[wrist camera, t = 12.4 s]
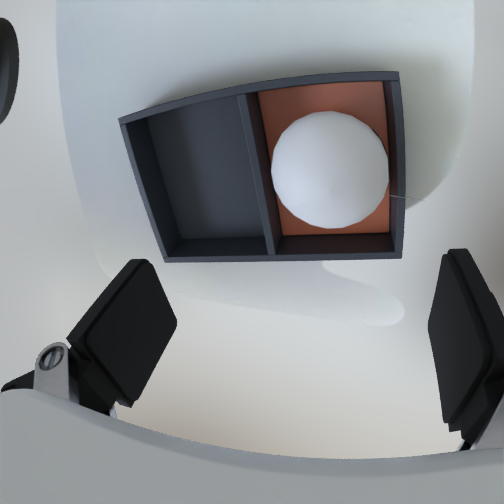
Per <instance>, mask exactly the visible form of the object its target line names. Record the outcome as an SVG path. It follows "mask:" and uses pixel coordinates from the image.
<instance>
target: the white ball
mask: <svg viewBox="0 0 504 504" xmlns="http://www.w3.org/2000/svg"><path fill="white" fill-rule="evenodd" d="M389 172H390V165H389V158H388V153H387V150H386V148H385V145H384V143H383V142H382V140H381V138H380V137H379V135H378V134H377V133H376V132H375V131H374V129H371V128H370V127H369V126H368V125H366V124H365V123H363V122H362V121H360V120H358V119H357V118H355V117H353V116H352V115H348V114H343V113H339V112H335V111H326V112H316V113H311V114H309V115H307V116H304V117H302V118H300V119H298V120H295V121H294V122H293V123H292V124H291V125H290V126H289V127H288V128H287V129H286V130H285V131H284V132H283V133H282V134H281V136H280V138H279V140H278V142H277V144H276V146H275V148H274V153H273V160H272V168H271V174H272V179H273V184H274V189H275V191H276V193H277V194H278V196H279V198H280V200H281V202H282V204H283V205H284V206H285V207H286V208H287V209H288V210H289V211H290V212H291V213H292V214H293V215H294V216H296V217H298V218H300V219H301V220H303V221H305V222H307V223H309V224H311V225H314V226H318V227H322V228H343V227H346V226H349V225H352V224H355V223H358V222H360V221H362V220H363V219H364V218H366V217H367V216H368V215H370V214H371V213H373V212H374V211H375V209H376V208H377V206H378V205H379V204H380V202H381V201H382V199H383V198H384V195H385V191H386V188H387V185H388V181H389ZM389 196H392V195H389ZM394 197H398V196H394ZM402 198H407V197H402ZM410 199H413V198H410ZM415 200H418V199H415Z"/></svg>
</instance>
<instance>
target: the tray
mask: <svg viewBox="0 0 504 504" xmlns="http://www.w3.org/2000/svg"><path fill="white" fill-rule="evenodd" d="M399 80H400V78H399V72H398V71H370V72H344V73H329V74H317V75H307V76H297V77H289V78H282V79H275V80H268V81H262V82H256V83H250V84H244V85H239V86H234V87H229V88H224V89H219V90H215V91H210V92H206V93H202V94H198V95H194V96H190V97H186V98H182V99H178V100H175V101H171V102H168V103H164V104H161V105H157V106H154V107H151V108H148V109H145V110H141V111H138V112H135V113H132V114H129V115H126V116H124V117H121V118H119V119H118V120H119V124H120V125H121V126H120V128H121V131H122V135H123V139H124V142H125V146H126V149H127V152H128V156H129V159H130V162H131V166H132V169H133V172H134V175H135V179H136V182H137V185H138V188H139V191H140V194H141V197H142V200H143V203H144V206H145V209H146V212H147V215H148V218H149V221H150V224H151V226H152V229H153V232H154V235H155V238H156V240H157V243H158V246H159V249H160V251H161V254H162V257H163V259H164V262H165V263H177V262H261V261H319V260H364V259H401V258H402V250H403V237H404V218H405V198H402V197H405V136H404V119H403V107H402V96H401V86H400V81H399ZM326 111H335V112H339V113H343V114H348V115H352V116H353V117H355V118H357V119H358V120H360V121H362V122H363V123H365V124H366V125H368V126H369V127H370V128H371V129H374V131H375V132H376V133H377V134H378V135H379V137H380V138H381V140H382V142H383V143H384V145H385V148H386V150H387V153H388V158H389V165H390V172H389V181H388V185H387V188H386V191H385V195H384V198H383V199H382V201H381V202H380V204H379V205H378V206H377V208H376V209H375V211H374V212H373V213H371V214H370V215H368V216H367V217H366V218H364V219H363V220H362V221H360V222H358V223H355V224H352V225H349V226H346V227H343V228H322V227H318V226H314V225H311V224H309V223H307V222H305V221H303V220H301V219H300V218H298V217H296V216H294V215H293V214H292V213H291V212H290V211H289V210H288V209H287V208H286V207H285V206H284V205H283V204H282V202H281V200H280V198H279V196H278V194H277V193H276V191H275V189H274V184H273V179H272V174H271V168H272V160H273V153H274V148H275V146H276V144H277V142H278V140H279V138H280V136H281V134H282V133H283V132H284V131H285V130H286V129H287V128H288V127H289V126H290V125H291V124H292V123H293V122H294V121H295V120H298V119H300V118H302V117H304V116H307V115H309V114H311V113H316V112H326ZM389 195H392V196H389ZM394 196H398V197H394Z"/></svg>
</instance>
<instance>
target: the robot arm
mask: <svg viewBox="0 0 504 504" xmlns="http://www.w3.org/2000/svg"><path fill="white" fill-rule="evenodd" d="M176 327H177V319H176V317H175V315H174V312H173V310H172V308H171V306H170V304H169V301H168V299H167V297H166V295H165V292H164V290H163V288H162V285H161V283H160V281H159V278H158V276H157V274H156V271H155V269H154V266H153V265H152V264H151V263H149V261H148V260H147V259H132V260H130V261H129V262H128V263H127V264H126V265H125V266H124V268H123V269H122V270H121V271H120V272H119V273H118V274H117V276H116V277H115V278H114V279H113V280H112V282H111V283H110V284H109V285H108V287H106V289H105V290H104V291H103V292H102V294H101V295H100V296H99V297H98V298H97V300H96V301H95V302H94V303H93V305H92V306H91V307H90V308H89V309H88V311H87V312H86V313H85V315H84V316H83V317H82V318H81V320H80V321H79V322H78V323H77V325H76V326H75V327H74V329H73V330H72V331H71V332H70V334H69V335H68V336H67V338H66V339H67V340H68V342H69V343H70V344H71V348H70V349H69V348H68V347H67V346H66V344H64V343H62V342H56V343H53V344H51V345H49V346H47V347H46V348H45V349H44V350H43V351H42V352H41V353H40V354H39V356H38V358H37V360H36V363H35V370H33V371H31V372H29V373H27V374H25V375H23V376H21V377H18V378H16V379H14V380H12V381H10V382H8V383H6V384H5V385H4V386H3V387H2V389H1V393H0V504H504V316H503V314H502V311H501V309H500V307H499V305H498V303H497V301H496V299H495V297H494V295H493V294H492V292H490V290H489V288H488V286H487V284H486V282H485V281H484V278H483V277H482V275H481V273H480V271H479V269H478V267H477V265H476V263H475V262H474V260H473V258H472V256H471V254H470V253H469V251H468V250H467V249H465V248H464V249H450V250H449V251H448V253H447V254H444V255H443V256H442V260H441V266H440V271H439V276H438V281H437V286H436V291H435V295H434V300H433V304H432V308H431V312H430V316H429V320H428V333H429V337H430V342H431V346H432V352H433V357H434V362H435V368H436V373H437V379H438V385H439V392H440V400H441V408H442V416H443V421H444V423H448V425H449V432H453V431H459V430H461V436H462V439H463V441H462V443H461V444H460V446H459V447H458V449H457V450H456V451H455V452H448V453H440V454H431V455H423V456H412V457H399V458H378V459H321V458H304V457H291V456H280V455H271V454H262V453H255V452H249V451H242V450H236V449H230V448H224V447H219V446H213V445H209V444H204V443H200V442H195V441H190V440H186V439H182V438H178V437H174V436H171V435H167V434H163V433H159V432H156V431H153V430H149V429H146V428H142V427H139V426H136V425H133V424H130V423H127V422H124V421H121V420H118V419H117V416H116V411H115V406H114V403H115V401H117V402H118V403H119V404H120V405H123V406H126V407H130V408H131V407H132V405H133V404H134V402H135V401H136V400H138V398H139V397H140V395H141V393H142V391H143V389H144V387H145V386H146V384H147V382H148V380H149V378H150V376H151V374H152V372H153V370H154V368H155V367H156V364H157V363H158V361H159V359H160V357H161V355H162V354H163V352H164V350H165V348H166V346H167V344H168V342H169V340H170V339H171V337H172V335H173V333H174V331H175V329H176Z"/></svg>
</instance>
